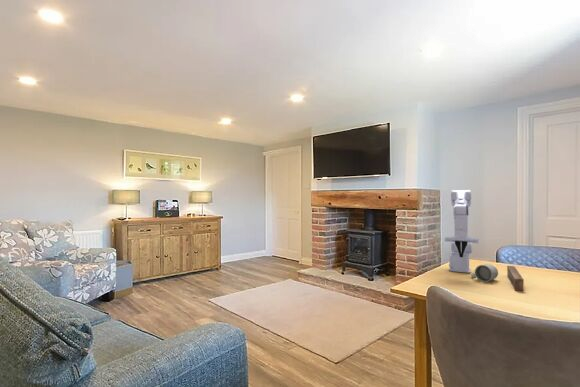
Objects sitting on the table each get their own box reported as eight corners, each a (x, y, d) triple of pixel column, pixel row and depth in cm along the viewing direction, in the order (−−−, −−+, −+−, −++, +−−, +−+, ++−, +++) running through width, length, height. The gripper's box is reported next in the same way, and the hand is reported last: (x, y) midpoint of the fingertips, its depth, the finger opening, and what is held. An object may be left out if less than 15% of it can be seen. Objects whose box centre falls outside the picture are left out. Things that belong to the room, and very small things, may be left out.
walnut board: (514, 290, 137) (514, 278, 137) (507, 275, 160) (507, 265, 160) (523, 291, 135) (523, 279, 135) (514, 276, 158) (514, 266, 158)
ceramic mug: (499, 280, 152) (499, 264, 152) (492, 283, 147) (491, 266, 147) (475, 276, 160) (475, 260, 161) (467, 279, 156) (467, 263, 156)
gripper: (444, 229, 157) (444, 257, 157) (478, 230, 150) (478, 259, 150) (444, 227, 163) (445, 254, 164) (478, 229, 157) (478, 257, 157)
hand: (461, 257), depth 157 cm, fingers closed
